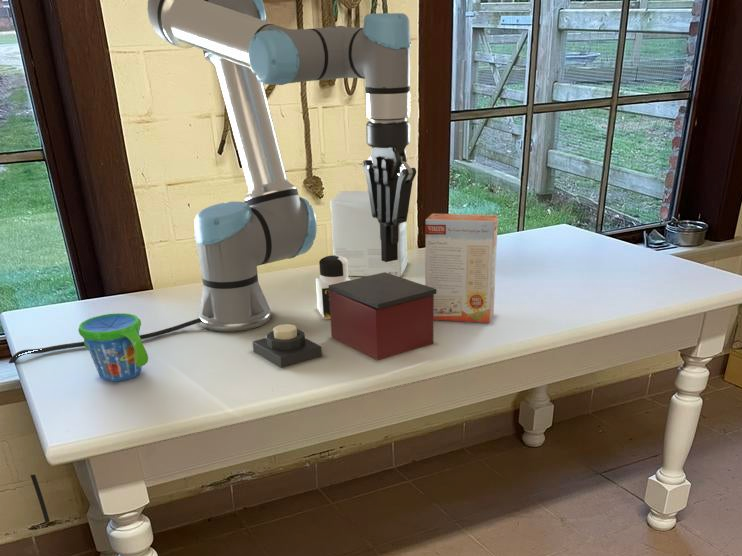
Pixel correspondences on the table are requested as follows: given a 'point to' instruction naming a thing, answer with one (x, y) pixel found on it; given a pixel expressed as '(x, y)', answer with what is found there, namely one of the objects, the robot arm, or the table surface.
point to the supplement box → (362, 236)
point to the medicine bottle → (329, 280)
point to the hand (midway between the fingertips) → (389, 259)
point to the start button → (285, 331)
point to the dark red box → (382, 325)
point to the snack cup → (115, 345)
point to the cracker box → (461, 265)
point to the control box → (287, 349)
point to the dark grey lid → (382, 290)
